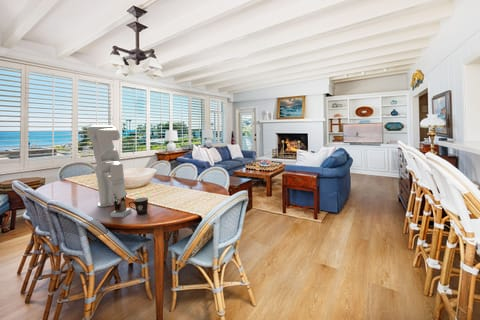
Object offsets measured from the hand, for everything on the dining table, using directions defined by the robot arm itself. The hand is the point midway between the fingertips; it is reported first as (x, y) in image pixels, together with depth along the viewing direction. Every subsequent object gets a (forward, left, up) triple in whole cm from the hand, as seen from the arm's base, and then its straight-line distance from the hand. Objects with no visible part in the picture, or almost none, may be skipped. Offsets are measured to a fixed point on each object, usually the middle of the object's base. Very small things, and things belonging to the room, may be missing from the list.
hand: (120, 207), depth 152 cm
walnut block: (0, 0, -2) cm, 2 cm away
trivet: (0, 0, -5) cm, 5 cm away
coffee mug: (+5, +12, -5) cm, 14 cm away
